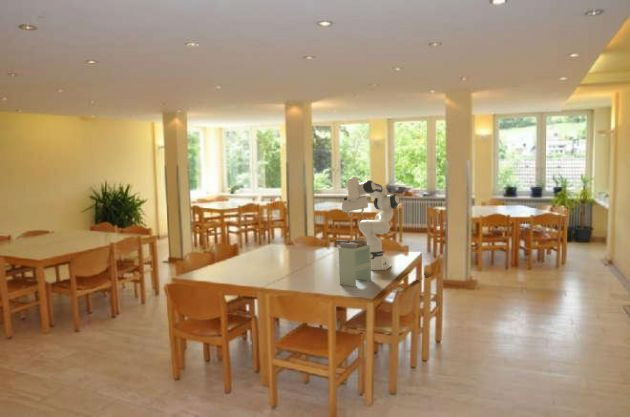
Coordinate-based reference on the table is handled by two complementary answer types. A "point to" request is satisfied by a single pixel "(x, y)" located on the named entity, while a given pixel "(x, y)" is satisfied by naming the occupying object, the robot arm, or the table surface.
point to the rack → (354, 262)
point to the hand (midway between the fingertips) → (355, 215)
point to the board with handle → (348, 242)
